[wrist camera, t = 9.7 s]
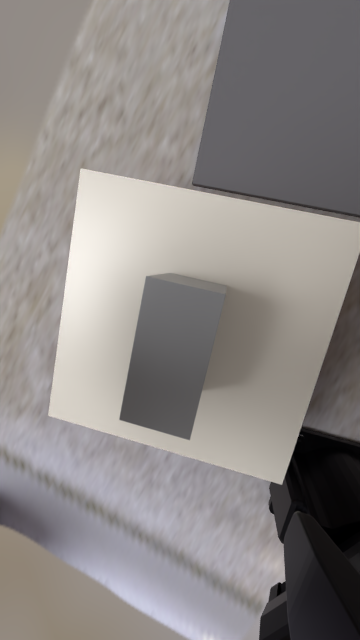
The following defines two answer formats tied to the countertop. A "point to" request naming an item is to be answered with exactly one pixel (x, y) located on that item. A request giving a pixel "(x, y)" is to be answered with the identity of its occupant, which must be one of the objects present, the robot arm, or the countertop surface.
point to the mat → (286, 105)
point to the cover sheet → (251, 328)
